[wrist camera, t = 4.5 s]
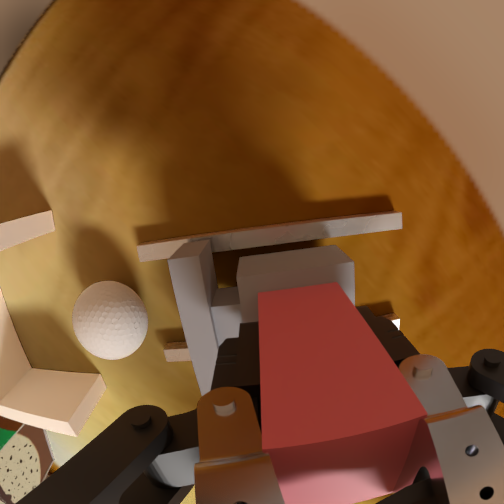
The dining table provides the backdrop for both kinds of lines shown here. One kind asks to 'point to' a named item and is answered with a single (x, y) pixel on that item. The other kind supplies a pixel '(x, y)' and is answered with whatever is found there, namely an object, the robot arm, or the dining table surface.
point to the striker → (305, 368)
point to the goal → (39, 380)
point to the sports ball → (110, 320)
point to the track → (271, 237)
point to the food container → (22, 459)
